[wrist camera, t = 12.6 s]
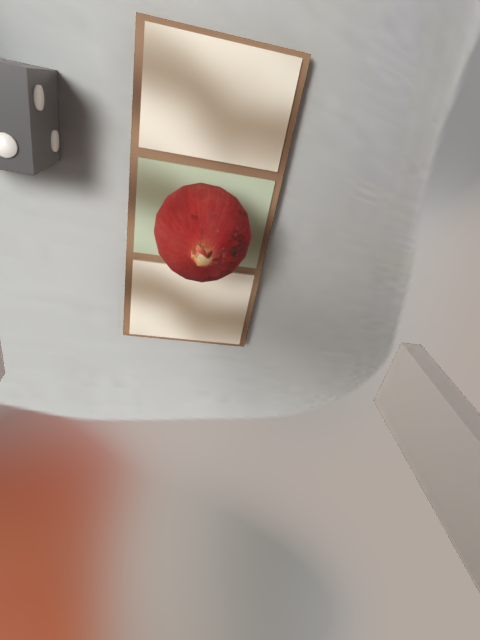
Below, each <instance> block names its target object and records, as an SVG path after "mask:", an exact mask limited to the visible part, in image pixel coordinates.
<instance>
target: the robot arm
mask: <svg viewBox="0 0 480 640" xmlns="http://www.w3.org/2000/svg"><path fill="white" fill-rule="evenodd" d="M4 374H5V368H4V362H3V355H2V349H1V342H0V381H1V379H2V377H3V376H4ZM374 402H375V404H376V406H377V408H378V410H379V411H380V413H381V415H382V417H383V419H384V421H385V422H386V424H387V426H388V428H389V430H390V431H391V433H392V435H393V437H394V439H395V440H396V442H397V444H398V446H399V447H400V449H401V451H402V453H403V455H404V457H405V458H406V460H407V462H408V464H409V466H410V468H411V469H412V471H413V473H414V475H415V477H416V479H417V480H418V482H419V484H420V486H421V488H422V489H423V491H424V493H425V495H426V496H427V498H428V500H429V502H430V504H431V506H432V508H433V509H434V511H435V513H436V515H437V517H438V518H439V520H440V522H441V524H442V526H443V527H444V529H445V531H446V533H447V535H448V537H449V538H450V540H451V542H452V544H453V546H454V547H455V549H456V551H457V553H458V555H459V556H460V558H461V560H462V562H463V564H464V565H465V567H466V569H467V571H468V573H469V575H470V576H471V578H472V580H473V582H474V584H475V585H476V587H477V589H478V591H479V592H480V414H479V413H478V412H477V411H476V409H475V408H474V407H473V406H472V404H471V403H470V402H469V401H468V400H467V399H466V397H465V396H464V395H463V394H462V393H461V391H460V390H459V389H458V388H457V387H456V386H455V384H454V383H453V382H452V381H451V380H450V378H449V377H448V376H447V375H446V374H445V373H444V371H443V370H442V369H441V368H440V367H439V365H438V364H437V363H436V362H435V361H434V359H433V358H432V357H431V356H430V355H429V354H428V353H427V351H426V350H425V349H424V348H423V346H422V345H417V344H409V343H401V345H400V347H399V349H398V351H397V353H396V355H395V357H394V359H393V361H392V364H391V366H390V368H389V370H388V372H387V374H386V376H385V378H384V380H383V383H382V385H381V387H380V389H379V391H378V393H377V395H376V397H375V399H374Z"/></svg>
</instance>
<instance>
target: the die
mask: <svg viewBox="0 0 480 640" xmlns="http://www.w3.org/2000/svg"><path fill="white" fill-rule="evenodd" d="M59 160H60V134H59V107H58V79H57V70H53V69H48V68H44V67H39V66H34V65H30V64H25V63H20V62H16V61H11V60H6V59H2V58H0V170H6V171H12V172H18V173H24V174H30V175H35V174H37V173H39V172H40V171H42V170H44V169H45V168H47V167H49V166H51V165H52V164H54V163H56V162H58V161H59Z"/></svg>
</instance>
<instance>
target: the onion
mask: <svg viewBox="0 0 480 640" xmlns="http://www.w3.org/2000/svg"><path fill="white" fill-rule="evenodd" d="M154 235H155V240H156V244H157V248H158V253H159V255H160V256H161V257H162V259H163V260H164V261H165V263H166V264H167V265H168V267H169V268H170V269H171V270H172V271H173V272H175V273H177V274H178V275H180V276H182V277H183V278H185V279H188V280H192V281H197V282H209V281H216V280H219V279H221V278H223V277H225V276H227V275H229V274H231V273H233V271H234V270H235V269H236V268H237V267H238V265H239V264H240V263H241V262H242V261H243V259H244V258H245V257H246V254H247V251H248V247H249V244H250V240H251V230H250V224H249V219H248V213H247V212H246V211H245V209H244V208H243V206H242V205H241V203H240V202H239V201H238V199H237V198H236V197H235V196H233V195H232V194H230V193H229V192H227V191H226V190H224V189H223V188H221V187H219V186H214V185H210V184H205V183H195V184H190V185H184V186H182V187H180V188H179V189H177V190H176V191H174V192H173V193H171V194H170V195H168V196H167V197H166V199H165V200H164V202H163V204H162V206H161V207H160V209H159V211H158V212H157V214H156V220H155V227H154Z"/></svg>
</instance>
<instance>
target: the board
mask: <svg viewBox="0 0 480 640" xmlns="http://www.w3.org/2000/svg"><path fill="white" fill-rule="evenodd" d="M310 58H311V54H308V53H304V52H300V51H296V50H292V49H287V48H283V47H279V46H275V45H271V44H267V43H262V42H258V41H254V40H250V39H246V38H242V37H237V36H233V35H229V34H225V33H221V32H217V31H212V30H208V29H204V28H200V27H196V26H192V25H187V24H183V23H179V22H175V21H171V20H167V19H163V18H158V17H154V16H150V15H146V14H142V13H138V12H136V30H135V54H134V79H133V104H132V128H131V153H130V178H129V202H128V227H127V252H126V276H125V301H124V325H123V335H129V336H140V337H150V338H160V339H171V340H181V341H191V342H202V343H212V344H223V345H233V346H243V347H244V345H245V340H246V336H247V332H248V327H249V323H250V319H251V314H252V310H253V306H254V301H255V297H256V293H257V288H258V284H259V280H260V275H261V271H262V267H263V262H264V258H265V253H266V249H267V245H268V240H269V236H270V232H271V227H272V223H273V219H274V214H275V210H276V206H277V201H278V197H279V193H280V188H281V184H282V179H283V175H284V171H285V166H286V162H287V158H288V153H289V149H290V145H291V140H292V136H293V132H294V127H295V123H296V119H297V114H298V110H299V106H300V101H301V97H302V92H303V88H304V84H305V79H306V75H307V71H308V66H309V62H310ZM195 183H205V184H210V185H214V186H219V187H221V188H223V189H224V190H226V191H227V192H229V193H230V194H232V195H233V196H235V197H236V198H237V199H238V201H239V202H240V203H241V205H242V206H243V208H244V209H245V211H246V212H247V213H248V219H249V224H250V230H251V240H250V244H249V247H248V251H247V254H246V257H245V258H244V259H243V261H242V262H241V263H240V264H239V265H238V267H237V268H236V269H235V270H234V271H233V273H231V274H229V275H227V276H225V277H223V278H221V279H219V280H216V281H209V282H197V281H192V280H188V279H185V278H183V277H182V276H180V275H178V274H177V273H175V272H173V271H172V270H171V269H170V268H169V267H168V265H167V264H166V263H165V261H164V260H163V259H162V257H161V256H160V255H159V253H158V248H157V244H156V240H155V235H154V227H155V220H156V214H157V212H158V211H159V209H160V207H161V206H162V204H163V202H164V200H165V199H166V197H167V196H168V195H170V194H171V193H173V192H174V191H176V190H177V189H179V188H180V187H182V186H184V185H190V184H195Z"/></svg>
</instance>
